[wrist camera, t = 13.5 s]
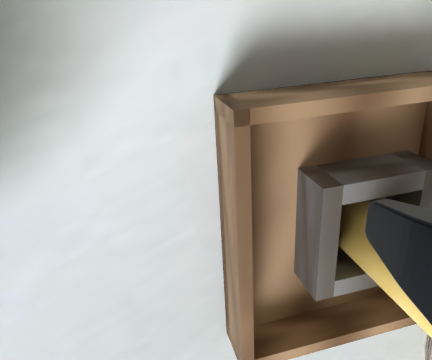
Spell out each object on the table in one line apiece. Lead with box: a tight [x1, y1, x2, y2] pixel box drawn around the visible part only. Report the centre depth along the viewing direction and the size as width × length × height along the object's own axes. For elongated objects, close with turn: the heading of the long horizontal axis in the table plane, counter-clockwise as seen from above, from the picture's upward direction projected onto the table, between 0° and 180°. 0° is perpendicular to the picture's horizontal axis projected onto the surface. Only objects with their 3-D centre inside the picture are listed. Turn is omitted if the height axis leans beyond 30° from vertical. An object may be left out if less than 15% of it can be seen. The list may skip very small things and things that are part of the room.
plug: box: [338, 198, 432, 338], centre depth 20 cm, size 4×4×13 cm
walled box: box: [214, 71, 432, 360], centre depth 24 cm, size 14×17×4 cm
